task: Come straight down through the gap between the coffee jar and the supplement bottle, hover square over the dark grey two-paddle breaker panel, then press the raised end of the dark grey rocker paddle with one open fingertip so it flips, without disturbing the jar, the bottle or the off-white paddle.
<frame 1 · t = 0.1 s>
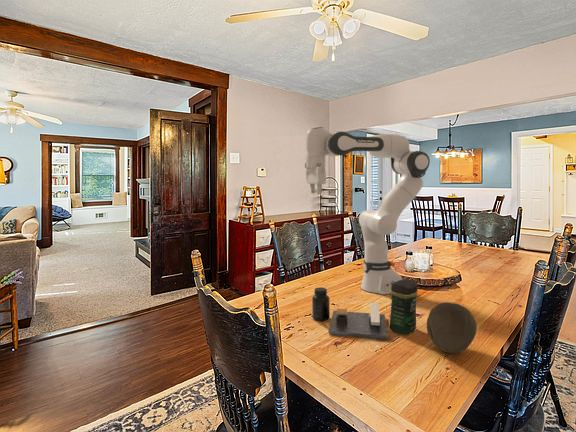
hand: (315, 193, 151), 48 cm above the table, tool pointing down, fingers open, 8 cm apart
paddle a: (342, 311, 123), point 5 cm above the table, hinge at -20.0°
supplement bottle: (320, 318, 129), on the table
paddle b: (374, 314, 120), point 5 cm above the table, hinge at 20.0°
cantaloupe: (449, 350, 105), on the table
panel: (358, 326, 122), on the table
coffee jar: (403, 330, 119), on the table
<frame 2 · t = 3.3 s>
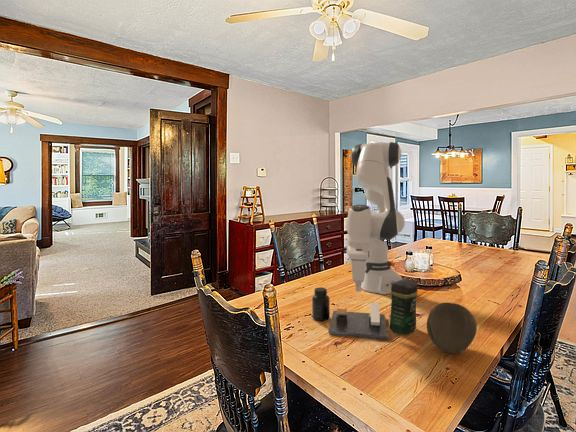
hand: (358, 286, 120), 15 cm above the table, tool pointing down, fingers open, 8 cm apart
nothing on the table moved.
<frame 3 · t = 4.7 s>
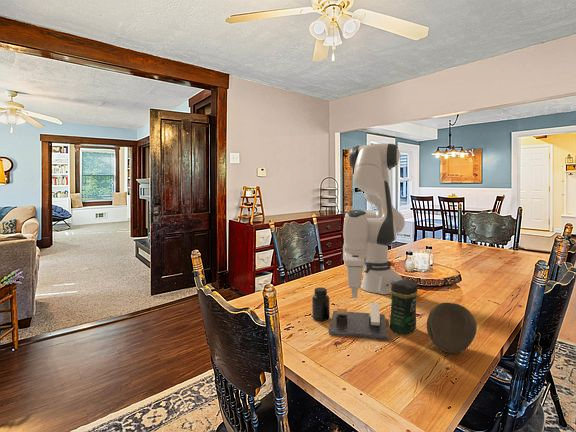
hand: (354, 292, 119), 14 cm above the table, tool pointing down, fingers open, 8 cm apart
nothing on the table moved.
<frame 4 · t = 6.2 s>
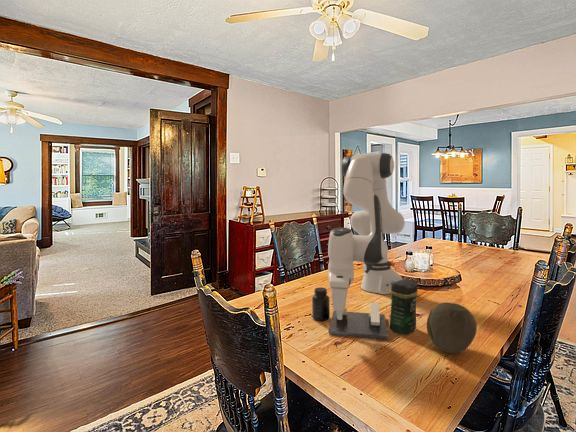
hand: (340, 313, 115), 8 cm above the table, tool pointing down, fingers open, 8 cm apart
paddle a: (342, 311, 123), point 5 cm above the table, hinge at -20.0°, touching gripper
everything else where it was.
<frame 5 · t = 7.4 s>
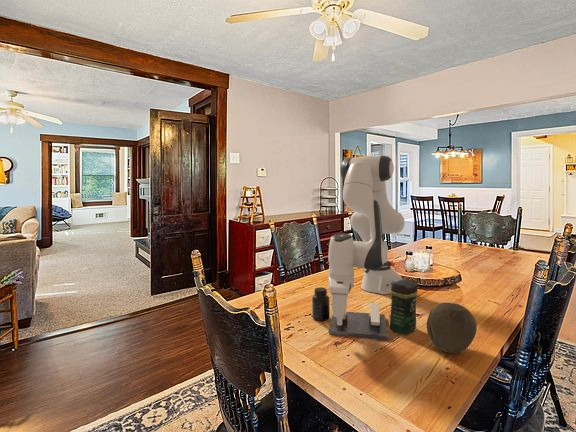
hand: (340, 319, 114), 6 cm above the table, tool pointing down, fingers open, 7 cm apart
paddle a: (342, 311, 123), point 5 cm above the table, hinge at 4.2°, touching gripper
everything else where it was.
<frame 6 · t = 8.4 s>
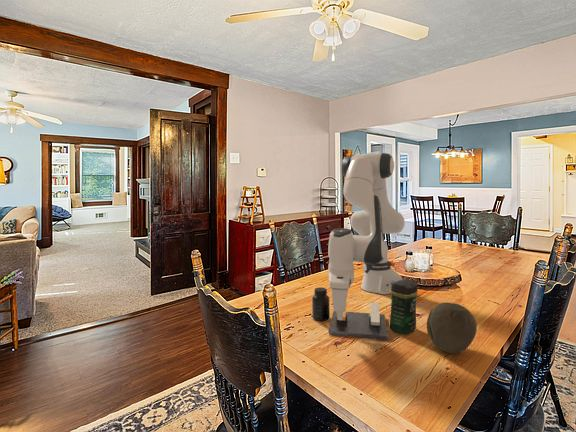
hand: (341, 313, 115), 8 cm above the table, tool pointing down, fingers open, 8 cm apart
paddle a: (342, 311, 123), point 5 cm above the table, hinge at 9.3°
everything else where it was.
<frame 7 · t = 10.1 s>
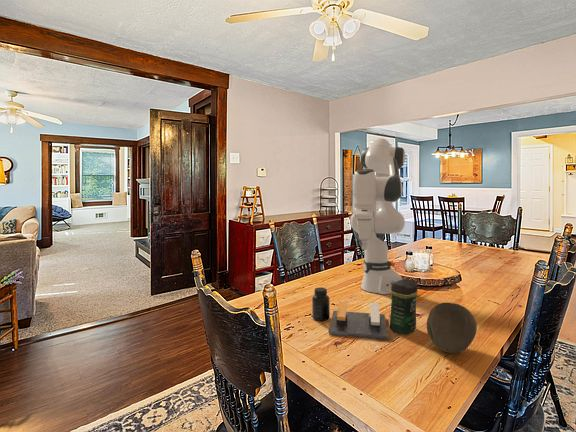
hand: (364, 246, 128), 28 cm above the table, tool pointing down, fingers open, 8 cm apart
paddle a: (342, 311, 123), point 5 cm above the table, hinge at 10.1°
everything else where it was.
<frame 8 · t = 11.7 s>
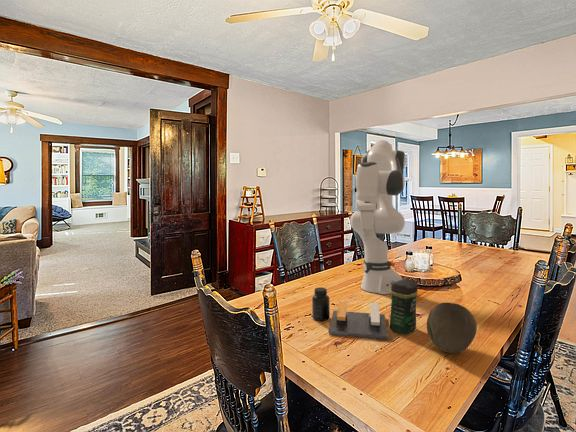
hand: (366, 239, 129), 31 cm above the table, tool pointing down, fingers open, 8 cm apart
nothing on the table moved.
at the end: paddle a at +10° (first picture: -20°); paddle b at +20° (first picture: +20°); supplement bottle moved 0.2 cm from its start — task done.
